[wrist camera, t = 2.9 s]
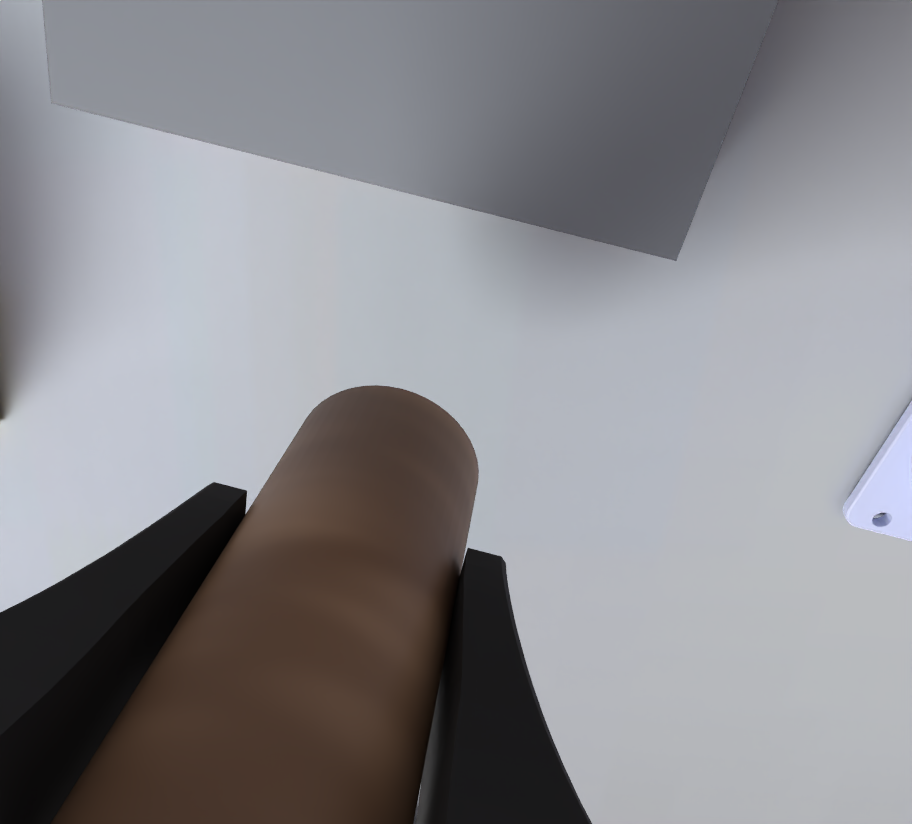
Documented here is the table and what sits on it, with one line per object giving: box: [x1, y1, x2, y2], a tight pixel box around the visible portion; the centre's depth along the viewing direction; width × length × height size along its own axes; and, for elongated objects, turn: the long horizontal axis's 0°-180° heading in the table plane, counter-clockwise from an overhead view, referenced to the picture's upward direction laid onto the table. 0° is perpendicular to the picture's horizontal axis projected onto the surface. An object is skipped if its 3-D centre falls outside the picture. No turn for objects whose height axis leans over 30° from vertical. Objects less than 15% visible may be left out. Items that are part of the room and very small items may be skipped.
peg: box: [51, 386, 479, 824], centre depth 11 cm, size 4×4×9 cm
